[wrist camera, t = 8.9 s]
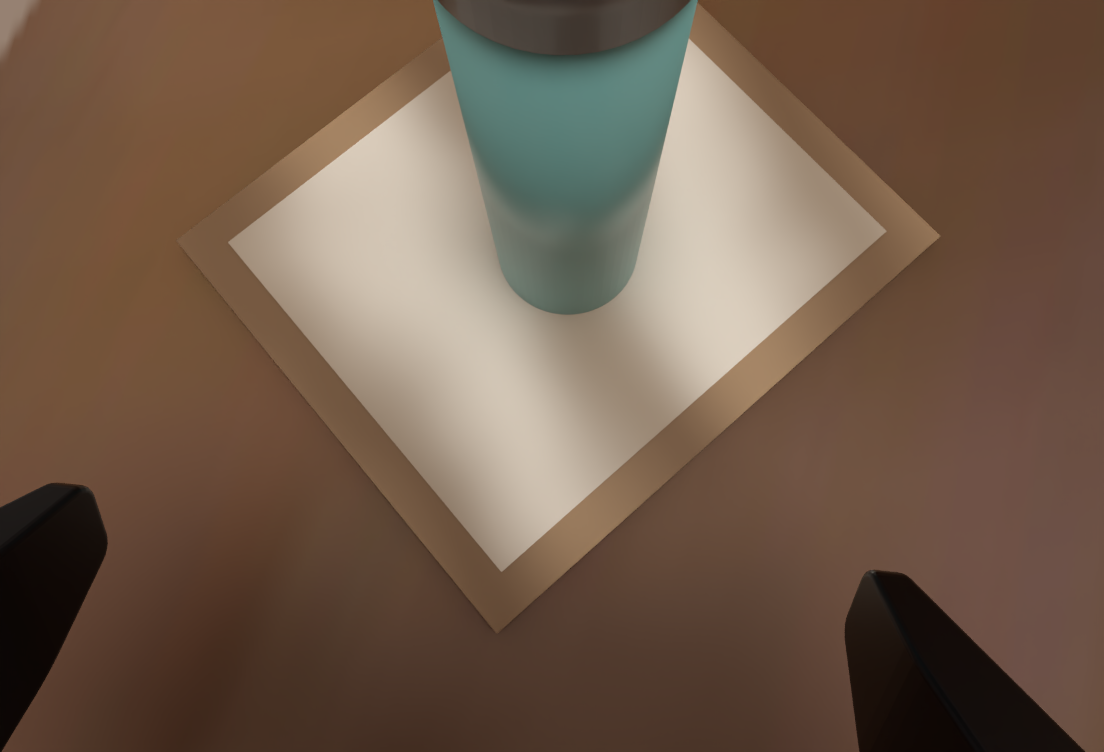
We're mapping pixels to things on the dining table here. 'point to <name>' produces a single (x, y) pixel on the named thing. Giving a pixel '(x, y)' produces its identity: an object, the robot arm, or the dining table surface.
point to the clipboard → (533, 334)
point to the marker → (566, 132)
